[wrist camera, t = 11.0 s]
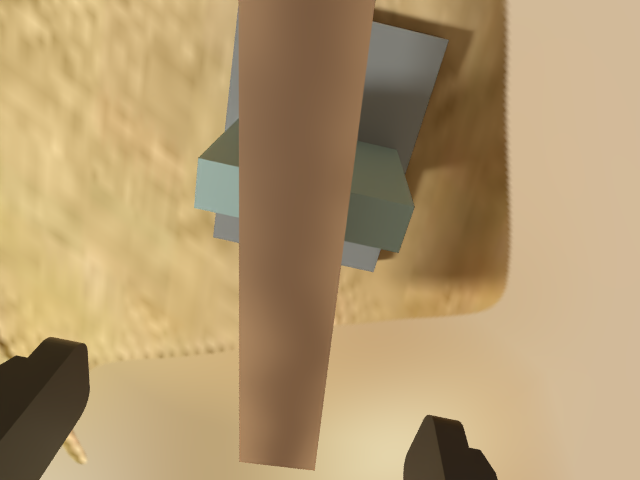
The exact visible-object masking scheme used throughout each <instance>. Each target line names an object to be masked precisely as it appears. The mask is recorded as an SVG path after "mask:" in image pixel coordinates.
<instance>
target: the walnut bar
mask: <svg viewBox="0 0 640 480" xmlns="http://www.w3.org/2000/svg"><path fill="white" fill-rule="evenodd" d="M374 6H375V0H239V417H240V418H239V422H240V423H239V426H240V427H239V431H240V432H239V433H240V434H239V439H240V441H239V442H240V443H239V444H240V445H239V447H240V448H239V450H240V452H239V453H240V455H239V456H240V457H239V459H240V460H239V461H240V462H245V463H254V464H263V465H271V466H280V467H288V468H297V469H306V470H315V463H316V455H317V447H318V440H319V432H320V424H321V417H322V409H323V401H324V393H325V385H326V377H327V370H328V362H329V355H330V347H331V339H332V331H333V324H334V316H335V308H336V300H337V293H338V285H339V277H340V269H341V262H342V254H343V246H344V238H345V231H346V223H347V215H348V207H349V200H350V192H351V184H352V176H353V169H354V161H355V153H356V145H357V138H358V130H359V122H360V114H361V107H362V99H363V91H364V83H365V75H366V68H367V60H368V52H369V44H370V37H371V29H372V21H373V13H374Z"/></svg>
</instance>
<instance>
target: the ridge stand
mask: <svg viewBox="0 0 640 480" xmlns="http://www.w3.org/2000/svg"><path fill="white" fill-rule="evenodd" d="M448 41H449V40H447V39H444V38H440V37H436V36H432V35H428V34H424V33H420V32H416V31H412V30H408V29H403V28H399V27H395V26H391V25H387V24H383V23H379V22H375V21H372V29H371V37H370V44H369V52H368V60H367V68H366V75H365V83H364V91H363V99H362V107H361V114H360V122H359V130H358V138H357V145H356V153H355V161H354V169H353V176H352V184H351V192H350V200H349V207H348V215H347V223H346V231H345V238H344V246H343V254H342V262H341V265H343V266H348V267H352V268H357V269H361V270H366V271H371V272H374V268H375V265H376V262H377V259H378V256H379V253H380V250H381V249H383V250H388V251H392V252H397V253H399V250H400V247H401V244H402V241H403V239H404V236H405V233H406V230H407V227H408V224H409V221H410V219H411V216H412V213H413V210H414V207H415V206H414V203H413V200H412V197H411V194H410V190H409V187H408V184H407V181H406V178H405V173H406V170H407V167H408V164H409V161H410V158H411V155H412V152H413V149H414V146H415V143H416V139H417V136H418V133H419V130H420V127H421V124H422V121H423V118H424V115H425V112H426V109H427V106H428V103H429V99H430V96H431V93H432V90H433V87H434V84H435V81H436V78H437V75H438V72H439V69H440V66H441V63H442V60H443V56H444V53H445V50H446V47H447V44H448ZM194 208H197V209H202V210H206V211H211V212H215V213H216V217H215V226H214V236H213V237H215V238H219V239H224V240H228V241H233V242H237V243H239V6H238V15H237V24H236V33H235V42H234V52H233V61H232V70H231V79H230V88H229V98H228V107H227V116H226V125H225V132H224V133H223V134H222V135H221V136H220V137H219V138H218V139H217V140H216V141H215V142H214V143H213V144H212V145H211V146H210V147H209V148H208V149H207V150H206V151H205V152H204V153H203V154H202V155H201V156H200V157H199V158H198V168H197V180H196V192H195V205H194Z"/></svg>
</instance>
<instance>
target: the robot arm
mask: <svg viewBox="0 0 640 480" xmlns="http://www.w3.org/2000/svg"><path fill="white" fill-rule="evenodd" d="M89 392H90V385H89V368H88V351H87V346H86V345H85V344H84V343H79V342H74V341H69V340H64V339H59V338H54V337H49V338H47V339H45V340H44V341H43V342H42V343H41V344H40V345H39V346H38V347H37V348H36V349H35V350H34V351H33V353H32V354H31V355H30V356H29V357H28V358H26V357H21V356H15V357H13V358H11V359H9V360H8V361H6V362H4V363H3V364H1V365H0V480H39V479H40V478H41V476H42V475H43V473H44V472H45V470H46V469H47V467H48V466H49V464H50V462H51V461H52V459H53V458H54V456H55V455H56V453H57V452H58V450H59V449H60V447H61V446H62V444H63V443H64V441H65V440H66V438H67V437H68V435H69V434H70V432H71V431H72V429H73V428H74V426H75V425H76V423H77V421H78V420H79V418H80V417H81V415H82V413H83V411H84V409H85V407H86V404H87V401H88V397H89ZM403 474H404V475H403V476H404V477H403V479H404V480H498V479H497V476H496V473H495V471H494V470H493V468H492V467H491V465H490V464H489V462H488V461H487V459H486V458H485V456H484V455H483V453H482V452H481V450H478V449H473V448H469V446H468V442H467V439H466V435H465V431H464V428H463V425H462V424H461V422H459V421H457V420H451V419H447V418H442V417H437V416H432V415H427V416H426V417H425V418H424V420H423V422H422V424H421V426H420V428H419V430H418V432H417V434H416V436H415V438H414V440H413V442H412V444H411V447H410V449H409V451H408V453H407V455H406V459H405V463H404V473H403Z"/></svg>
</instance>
